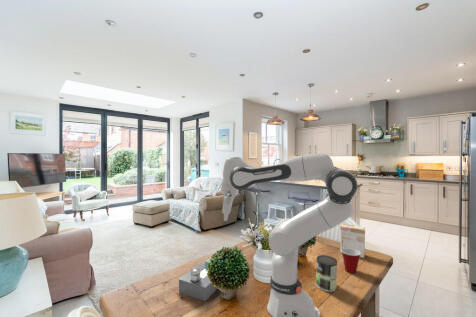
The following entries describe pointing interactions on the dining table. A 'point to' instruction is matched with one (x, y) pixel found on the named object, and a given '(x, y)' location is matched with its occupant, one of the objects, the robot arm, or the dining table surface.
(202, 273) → the cartridge
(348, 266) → the plastic cup
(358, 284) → the dining table surface
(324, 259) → the coffee can
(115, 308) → the dining table surface
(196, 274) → the plunger
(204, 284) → the filter housing
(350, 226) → the coffeecake box
